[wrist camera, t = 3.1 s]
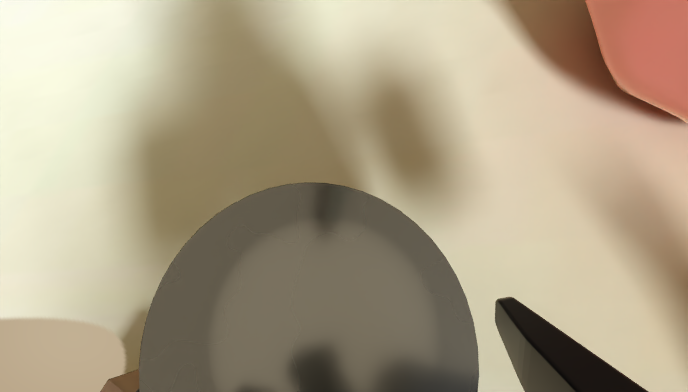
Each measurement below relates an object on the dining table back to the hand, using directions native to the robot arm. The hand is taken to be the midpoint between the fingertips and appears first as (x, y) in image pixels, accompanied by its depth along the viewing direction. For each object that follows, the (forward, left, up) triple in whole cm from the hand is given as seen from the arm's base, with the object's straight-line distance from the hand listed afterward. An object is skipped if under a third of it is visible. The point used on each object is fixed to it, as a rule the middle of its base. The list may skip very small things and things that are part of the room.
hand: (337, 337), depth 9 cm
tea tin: (0, 0, -8) cm, 8 cm away
